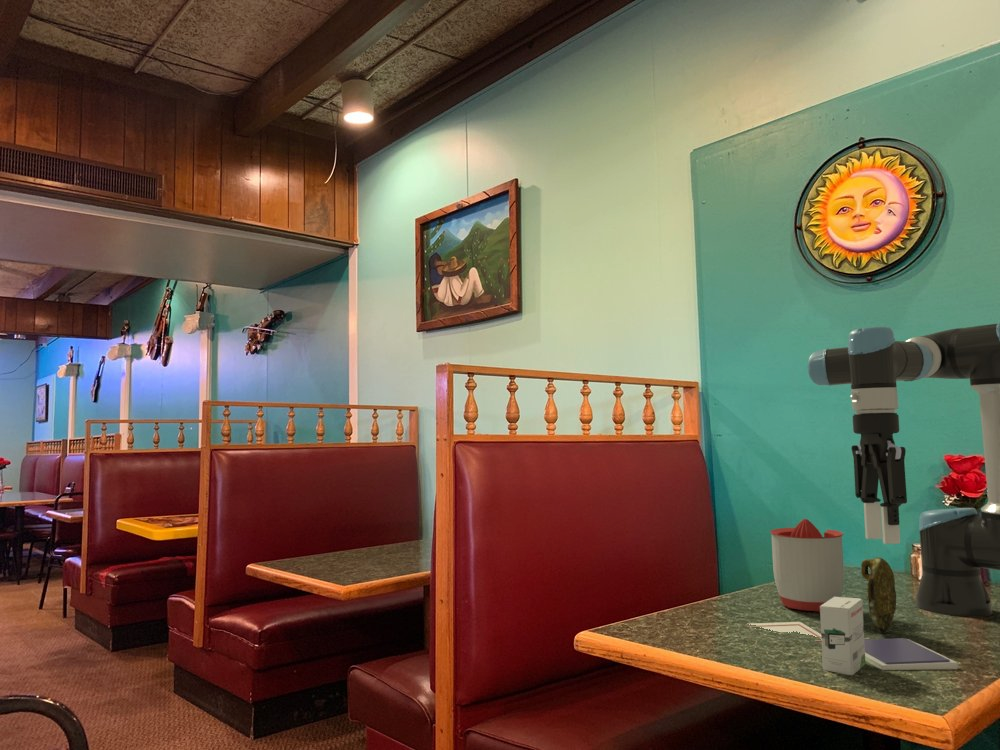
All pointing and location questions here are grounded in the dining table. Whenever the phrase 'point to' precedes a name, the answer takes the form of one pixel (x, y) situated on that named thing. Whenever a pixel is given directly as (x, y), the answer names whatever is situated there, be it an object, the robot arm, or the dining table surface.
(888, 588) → the brown mottled tapered part
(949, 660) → the ink pad
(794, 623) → the paper
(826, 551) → the citrus juicer
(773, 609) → the dining table surface
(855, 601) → the ink box
